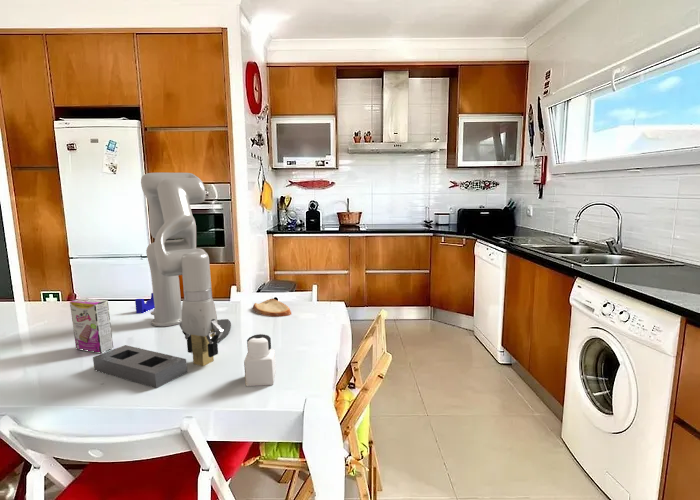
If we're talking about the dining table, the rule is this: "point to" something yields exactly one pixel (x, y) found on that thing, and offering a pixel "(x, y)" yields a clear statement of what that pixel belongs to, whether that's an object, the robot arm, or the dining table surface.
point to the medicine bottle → (259, 361)
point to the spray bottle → (224, 327)
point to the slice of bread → (272, 308)
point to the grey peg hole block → (140, 365)
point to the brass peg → (200, 350)
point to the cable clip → (144, 304)
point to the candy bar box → (91, 324)
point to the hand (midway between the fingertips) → (202, 352)
